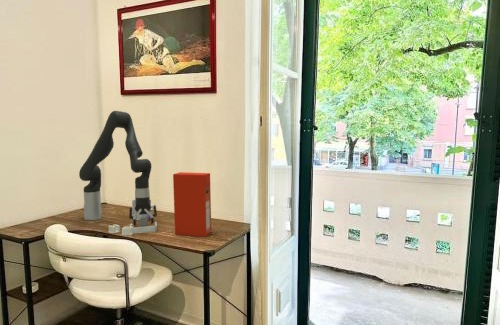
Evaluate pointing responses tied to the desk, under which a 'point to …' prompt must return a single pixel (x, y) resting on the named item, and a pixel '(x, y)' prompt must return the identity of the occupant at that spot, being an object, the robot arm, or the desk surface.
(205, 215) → the file binder
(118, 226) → the clip
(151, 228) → the bracket
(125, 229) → the clip
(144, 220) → the connector
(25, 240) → the desk surface
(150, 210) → the ink cartridge box
